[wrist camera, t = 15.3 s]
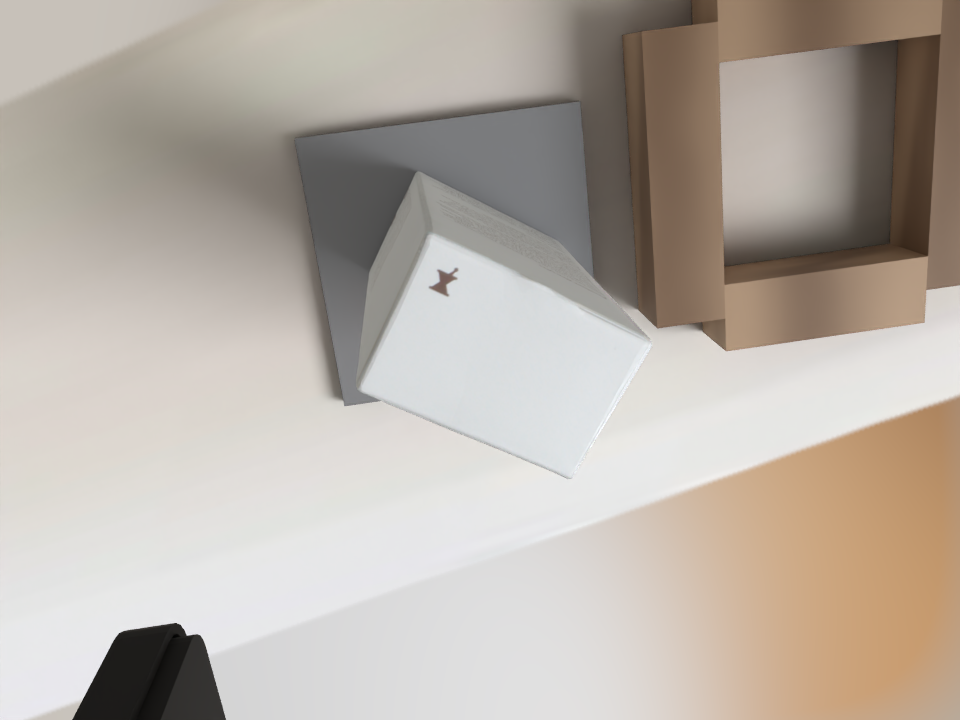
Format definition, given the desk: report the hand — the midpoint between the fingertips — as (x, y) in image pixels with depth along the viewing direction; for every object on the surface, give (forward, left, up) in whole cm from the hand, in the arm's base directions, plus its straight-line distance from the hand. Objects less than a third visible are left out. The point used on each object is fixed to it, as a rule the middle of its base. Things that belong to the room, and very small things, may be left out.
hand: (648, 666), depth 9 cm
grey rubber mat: (+1, 0, -23) cm, 23 cm away
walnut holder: (-12, -2, -23) cm, 26 cm away
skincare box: (0, 0, -23) cm, 23 cm away
